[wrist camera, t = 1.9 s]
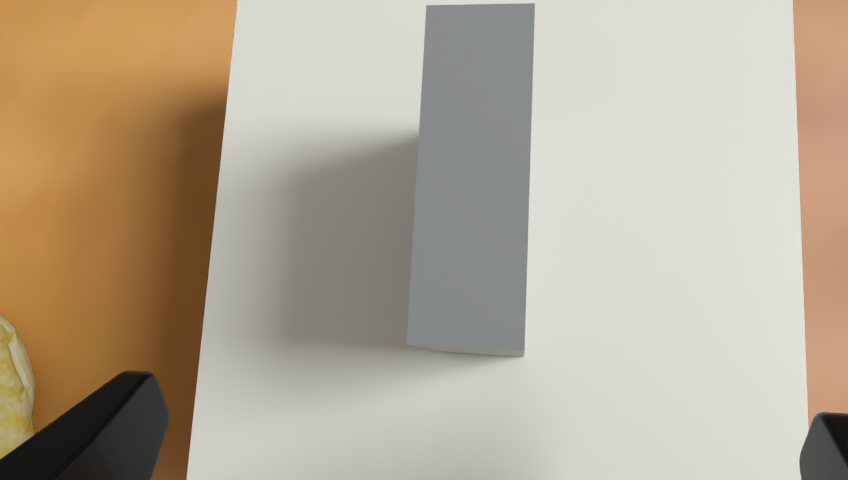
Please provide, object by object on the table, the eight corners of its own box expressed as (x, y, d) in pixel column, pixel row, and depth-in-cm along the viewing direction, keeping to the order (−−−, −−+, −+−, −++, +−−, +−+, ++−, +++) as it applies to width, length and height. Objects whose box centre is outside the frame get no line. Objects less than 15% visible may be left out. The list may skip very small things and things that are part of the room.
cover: (725, 513, 19) (1004, 713, 8) (277, 477, 21) (-1, 599, 10) (717, 73, 21) (928, -249, 10) (311, 74, 23) (116, -198, 12)
